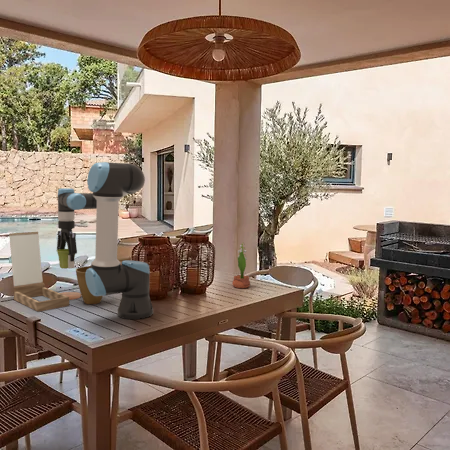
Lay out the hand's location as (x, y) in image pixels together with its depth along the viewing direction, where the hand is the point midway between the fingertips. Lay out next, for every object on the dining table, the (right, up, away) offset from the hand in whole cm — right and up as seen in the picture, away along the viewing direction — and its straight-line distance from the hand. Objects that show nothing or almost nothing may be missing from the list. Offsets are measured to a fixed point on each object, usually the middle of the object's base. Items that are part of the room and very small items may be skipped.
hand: (66, 266), depth 220 cm
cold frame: (-9, -16, -10) cm, 21 cm away
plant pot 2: (+15, -16, -7) cm, 23 cm away
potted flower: (+86, -14, +32) cm, 93 cm away
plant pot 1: (0, -1, 0) cm, 1 cm away
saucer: (0, -15, +2) cm, 15 cm away
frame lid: (-19, +4, -1) cm, 20 cm away
